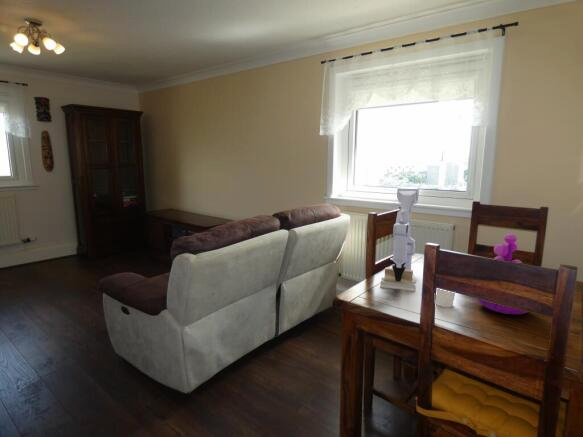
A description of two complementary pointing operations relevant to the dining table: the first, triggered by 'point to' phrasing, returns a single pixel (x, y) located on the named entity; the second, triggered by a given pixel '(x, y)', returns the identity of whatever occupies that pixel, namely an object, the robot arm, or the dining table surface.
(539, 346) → the dining table surface
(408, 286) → the track board
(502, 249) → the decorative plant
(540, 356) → the dining table surface
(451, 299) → the white cup
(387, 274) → the tan rectangular block
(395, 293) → the dining table surface
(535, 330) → the dining table surface
